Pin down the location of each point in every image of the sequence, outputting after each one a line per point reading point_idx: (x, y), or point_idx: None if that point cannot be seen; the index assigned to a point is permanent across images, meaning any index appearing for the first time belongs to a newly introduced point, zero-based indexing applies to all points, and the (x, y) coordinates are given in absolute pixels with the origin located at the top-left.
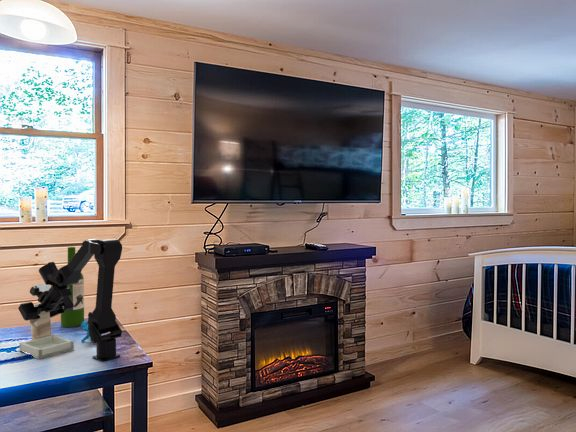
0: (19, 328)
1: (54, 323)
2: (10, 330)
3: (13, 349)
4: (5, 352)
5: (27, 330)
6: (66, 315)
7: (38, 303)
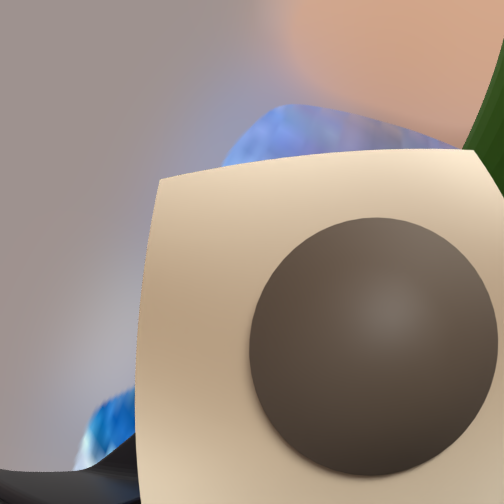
0: (295, 116)
1: (422, 140)
2: (259, 120)
3: (122, 438)
4: (84, 446)
5: (313, 152)
6: (497, 185)
7: (405, 149)
